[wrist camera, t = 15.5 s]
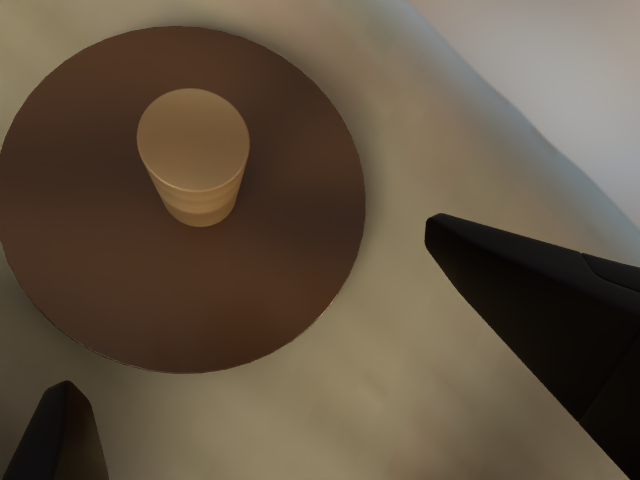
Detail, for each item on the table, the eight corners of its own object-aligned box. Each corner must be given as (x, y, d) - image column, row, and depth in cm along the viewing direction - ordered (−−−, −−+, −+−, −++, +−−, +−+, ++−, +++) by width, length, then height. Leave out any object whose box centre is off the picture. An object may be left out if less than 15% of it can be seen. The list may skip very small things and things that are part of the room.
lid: (365, 355, 19) (451, 387, 12) (-3, 385, 16) (-169, 455, 9) (350, 58, 21) (417, -56, 14) (16, 21, 17) (-108, -157, 11)
